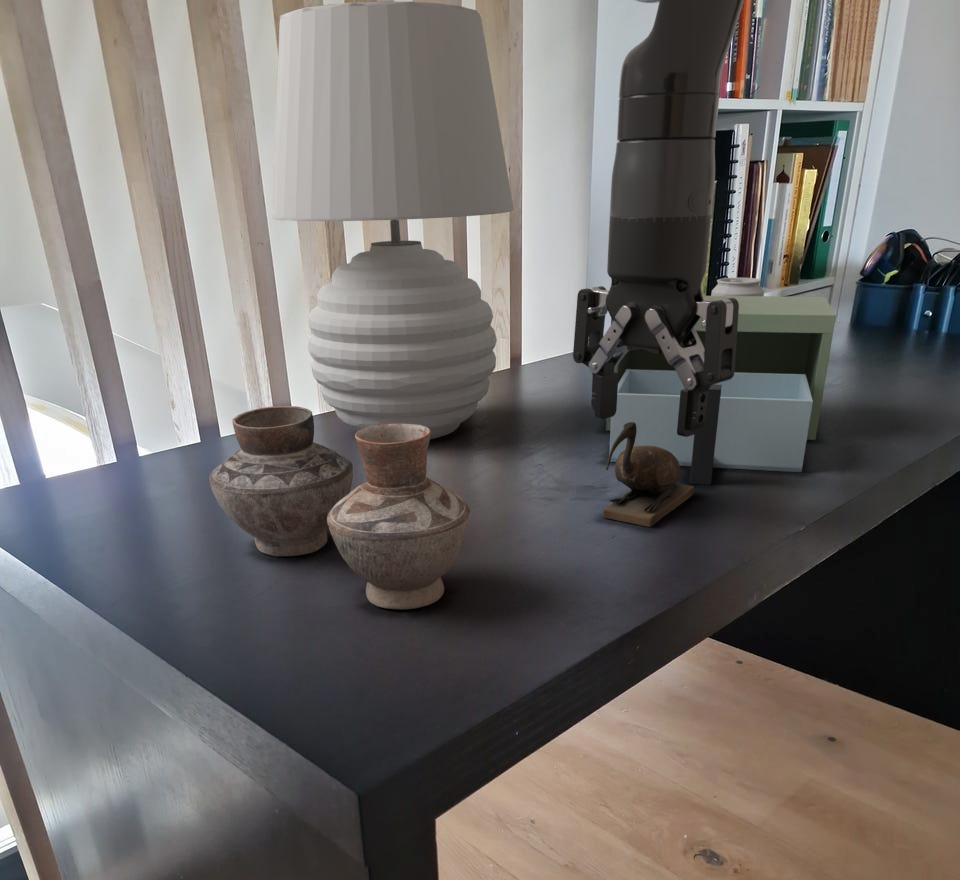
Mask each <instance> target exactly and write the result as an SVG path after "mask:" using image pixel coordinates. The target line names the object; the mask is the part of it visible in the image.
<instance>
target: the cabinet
mask: <svg viewBox="0 0 960 880" xmlns="http://www.w3.org/2000/svg"><path fill="white" fill-rule="evenodd" d="M702 296H703V299H704V301H718V300H723V299H728V298H735V299H736V300H737V301H738V303H739V313H738V328H737V343H736V357H735V372H739V373H775V374H805V375H806V378H807V382H808V385H809V389H810V393H811V396H812V400H813V404H812V410H811V416H810V423H809V429H808V435H807V441H816V439H817V433H818V428H819V419H820V414H821V409H822V403H823V396H824V390H825V385H826V378H827V372H828V366H829V361H830V360H829V359H830V354H831V349H832V342H833V336H834V335H833V333H834V329H835V325H836V317H837V315H836V313H835V311H834V309H833V308H832V306H831V304H830V302H829V300H828V298H827V297H826V296H783V295H781V296H780V295H779V296H777V295H775V296H772V295H771V296H770V295H768V296H767V295H764V296H711V295H702ZM701 322H702V319H701V318H700V319H699V320H698V322H697V323H696V324H695V326H694V328H695V330H696V332H697V334H698V336H699V338H700V340H701V342H702V344H703V346H704V349H705V334H706V330H705V329H704V328H703V327H702V326H701ZM612 323H613V321H612V318H611V317H610V325H611V324H612ZM680 347H682V348H685V347H684V345H683V343H682V344H681V345H680ZM704 354H705V352H704ZM626 369H634V370H669V371H676V369H675V368H674V367H673V366H671V365H670V364H669V363H668V362H667V360H666V358H665V356H664V353H662V354H654V353H650V352H648V351H646V350H644V349H641V350H636V351H633V350H630V351H628V352H627V353H626V354H625V356H624V357H623V358H622V360H621V361H620V363H619V364H618V365H617V367H616V368H615V369H614V372H619V375H618V383H619V382H620V380H621V378H622V376H623V375H624V373H625V371H626ZM605 420H606V421H605V422H606V423H605V431H607V432H610V430H611V417H609V418H606V419H605Z"/></svg>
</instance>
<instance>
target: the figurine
mask: <svg viewBox="0 0 960 880" xmlns="http://www.w3.org/2000/svg"><path fill="white" fill-rule="evenodd" d="M636 432H637V428H636V424H635V423H634V422H628V423H626V424H625V425H624V426H623V430H622V432H621V433H620V435H619V436H618V437H617V439H616V441H615V442H614V444H613V446H612V449H611V451H610V450H609V451H610V454H608V458H607V461H606V467H605V470H606V471H609V468H610V463H611V462H610V460H611V457H612V454H613V452H614V450H615V449H616V447H617V446H618V445H619V444H620V443H621V442H622V441H623V440H624V439H626V438H627V445H626V449H625V450H624V451H623V452H621V453H620V455H619V456H618V458H617V460H616V462H614V463H615V464H614V473H615V478H616V480H617V481H618V482H619V483H622V485H624V486H626V487H627V488H628V489H630V490H629V491H628V492H626V493H625V494H624V495H622V496H620V497H616V498H612V499H611V500H609V501H608V502H611V504H610V505H608V506H606V507H605V508H604V509H603V513H602V516H603V518H605V519H609V520H613V521H614V520H615V521H619V522H622V523H623V522H624V523H629V524H634V525H638V526H643V527H649V528H651V527H652V526H654V525H655V524H656V523H658V522H659V521H660V520H662V519H663V518H664V517H666V516H667V515H669V514H670V513H671V512H672V511H674V510H676V508H677V507H679V506H681V505H682V504H683V503H684V502H686V501H687V500H688V499H690V498H691V497H692V496H693V495H694V492H695V486H693V485H689V484H684V483H677V482H679V481H680V480H681V478H682V469H681V466H680V465H679V462H678V460H677V458H676V457H675V456H674V455H673V454H672V453H671V452H669V451H667V450H665V449H663V448H660V447H656V446H635V447H633V446H634V443H635V439H636Z"/></svg>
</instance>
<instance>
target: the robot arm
mask: <svg viewBox="0 0 960 880" xmlns="http://www.w3.org/2000/svg"><path fill="white" fill-rule="evenodd" d="M634 1H635V2H638V3H641V4H642V3H643V4H658V6H657V10H656V15H655V19H654V22H653V26H652V28H651V30H650V32H649V33H648V35H647V36H646V38H644V39H643V40H642V41H641V42H639V43H638V44H637V45H635V46H634V47H633V48H632V49H631V50H630V51H629V52H627V54H626V56H625V57H624V59H623V63H622V65H621V71H620V79H619V89H618V90H619V91H618V109H617V130H616V141H617V142H616V146H615V154H614V160H613V166H612V173H611V181H610V200H609V203H610V204H609V221H608V223H609V226H608V244H607V246H608V247H607V265H606V266H607V267H606V273H607V275H608V277H609V278H610V279H611V283H610V287H609V290H607V288H606V287H605V286H603V285H600V286H591V287H586V288H581V289H580V290H578V292H577V296H576V297H577V298H576V310H575V325H574V336H573V349H572V350H573V351H572V359H573V361H574V363H576V364H583V365H585V366H586V367H588V369H589V372H590V373H591V375H592V380H591V381H592V382H591V383H592V384H591V400H590V401H591V402H590V405H591V408H592V411H594V413H593V415H594V417H595V418H596V419H599V420H607V418H609V417H613V416H614V415H615V414H616V410H617V393H618V375H619V372H614V369H615V368H616V367H617V365H618V364H619V363H620V361H621V360H622V358H623V357H624V356H625V354H626V353H627V352H628V351H630V350H633V351H636V350H641V349H644V350H646V351H648V352H650V353H654V354H662V353H664V356H665V358H666V360H667V362H668V363H669V364H670V365H671V366H673V367H674V368H675V369H676V372H677V374H678V376H679V378H680V380H681V382H682V384H683V386H684V388H685V389H682V390H681V392H680V403H679V414H678V425H677V434H678V435H679V436H684V437H688V436H691V435H694V434H696V433H697V432H698V431H699V428H702V427H703V425H704V423H705V419H706V409H707V401H708V392H709V388H710V387H711V386H712V385H713V384H717V383H720V382H723V381H727V380H730V379H732V378H733V376H734V372H735V357H736V343H737V328H738V313H739V303H738V301H737V300H736V299H735V298H728V299H723V300H718V301H704V299H703V296H704V295H703V292H702V283H703V279H704V277H705V274H706V272H707V263H708V254H709V253H708V252H709V243H710V241H709V240H710V231H711V222H712V211H713V201H714V192H715V184H716V183H715V182H716V147H715V146H716V140H715V138H716V136H717V135H716V134H717V127H718V126H717V125H718V115H719V104H720V93H721V92H720V90H721V79H722V78H721V77H722V72H723V68H724V64H725V62H726V58H727V56H728V53H729V50H730V47H731V45H732V41H733V38H734V36H735V33H736V32H735V31H736V28H737V25H738V22H739V18H740V15H741V11H742V8H743V4H744V1H745V0H634ZM608 313H609V316H610V319H611V318H612V321H613V323H612V324H611V323H610V326H609V327H608V328H607V330H606V332H605V322H606V315H607V314H608ZM700 318H701V319H702V322H701V326H702V327H703V328H704V329H705V330H706V334H705V349H704V346H703V344H702V342H701V340H700V338H699V336H698V334H697V332H696V330H695V328H694V326H695V324H696V323H697V322H698V320H699V319H700ZM682 343H683V345H684V347H685V348H682V347H680V345H681V344H682ZM704 352H705V354H704Z"/></svg>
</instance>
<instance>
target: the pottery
mask: <svg viewBox="0 0 960 880" xmlns="http://www.w3.org/2000/svg"><path fill="white" fill-rule="evenodd" d="M313 415H314V414H313V411H312V410H310V409H308V408H306V407H301V406H297V405H296V406H294V405H273V406H265V407H264V406H263V407H259V408H254V409H251V410H248V411H244V412H241V413H239V414H237V415H236V416H234V417H233V418H232V421H231V423H232V426H233V432H234V434H235V435H234V436H235V437H236V440H237V442H238V445H239V447H240V449H239V450H236V451H235V452H233V454H231V455H229V456H228V457H227V458H226V459H224V461H222V462H221V463H219V464H218V465H217V466H216V467H215V468H214V469H213V470H212V471H211V472H210V473H209V476H208V481H209V485H210V489H211V491H212V493H213V496H214V498H215V500H216V502H217V503H218V505H219V507H220V508H221V509H222V511H223V512H224V513H225V515H226V516H227V517H228V518H229V519H230V520H231V521H232V522H233V523H234V524H235V525H236V526H237V527H239V528H240V529H241V530H242V531H244V532H245V533H247V534H248V535H250V536H252V537H254V544H255V546H256V548H257V550H258V551H260V552H261V553H263V554H265V555H269V556H271V557H298V556H299V557H300V556H304V555H310V554H313V553H315V552H317V551H318V550H320V549H322V548H323V547H324V546H325V545H326V544H327V542H328V532H327V529H329V532H330V535H331V537H332V540H333V542H334V544H335V546H336V548H337V550H338V553H339V555H341V558H342V559H343V560H344V562H345V563H346V564H347V566H348V567H349V568H350V569H351V570H352V571H353V572H354V573H355V574H356V575H357V576H359V578H360V579H363V580H364V581H365V582H366V587H365V596H366V598H367V600H368V601H369V602H370V603H371V604H372V605H373V606H376V607H379V608H383V609H390V610H400V611H401V610H414V609H418V608H423V607H426V606H430V605H432V604H434V603H436V602H437V601H439V600H440V599H441V598H442V596H443V595H444V592H445V586H444V583H443V580H442V576H444V574H446V573H447V572H448V571H449V570H450V568H451V567H452V566H453V564H454V562H455V561H456V560H457V558H458V555H459V553H460V550H461V548H462V546H463V545H462V544H463V542H464V539H465V536H466V532H467V528H468V524H469V519H470V512H471V510H470V506H469V504H468V503H467V502H466V501H465V500H464V499H463V498H462V497H461V496H460V495H458V494H457V493H456V492H455V491H453V490H451V489H449V488H447V487H445V486H444V485H442V484H440V483H439V482H437V481H434V480H433V479H431V478H429V477H427V466H428V465H427V462H428V461H427V460H428V451H429V446H430V441H431V440H430V434H431V431H430V429H429V428H427V427H426V426H422V425H416V424H383V425H376V426H370V427H367V428H364V429H362V430H360V431H358V430H357V431H356V432H355V435H354V438H355V442H356V445H357V448H358V451H359V454H360V457H361V461H362V466H363V467H362V468H363V471H364V475H365V479H366V481H364V482H363V483H361V484H359V485H357V486H356V487H355V488H354V489H353V490H351V489H352V486H353V477H354V465H353V463H352V462H351V461H350V459H348V458H347V457H345V456H344V455H342V454H340V453H339V452H337V451H335V450H333V449H331V448H329V447H327V446H325V445H322V444H320V443H317V442H314V438H315V422H314V416H313Z"/></svg>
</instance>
